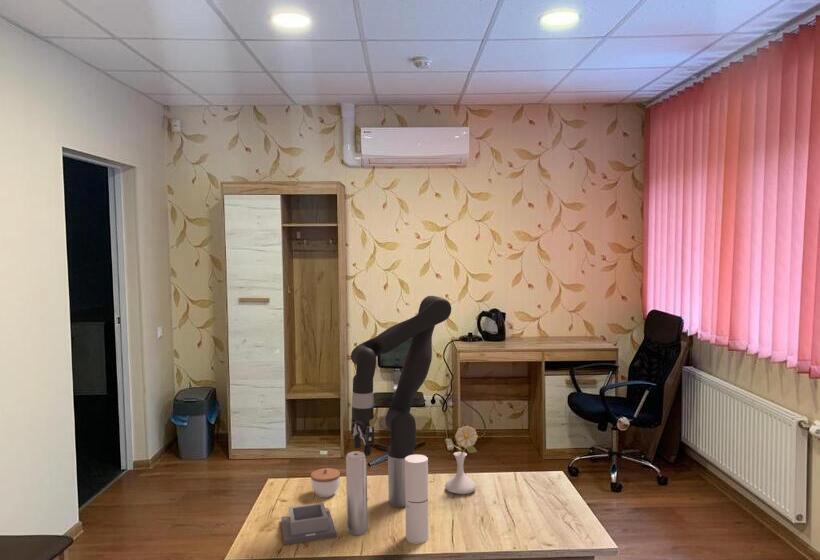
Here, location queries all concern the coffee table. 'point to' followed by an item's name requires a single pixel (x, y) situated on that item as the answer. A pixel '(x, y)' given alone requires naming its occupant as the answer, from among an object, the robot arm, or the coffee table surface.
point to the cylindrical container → (416, 498)
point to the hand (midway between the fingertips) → (362, 451)
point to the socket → (307, 524)
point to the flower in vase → (460, 480)
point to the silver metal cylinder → (356, 493)
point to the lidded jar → (325, 482)
